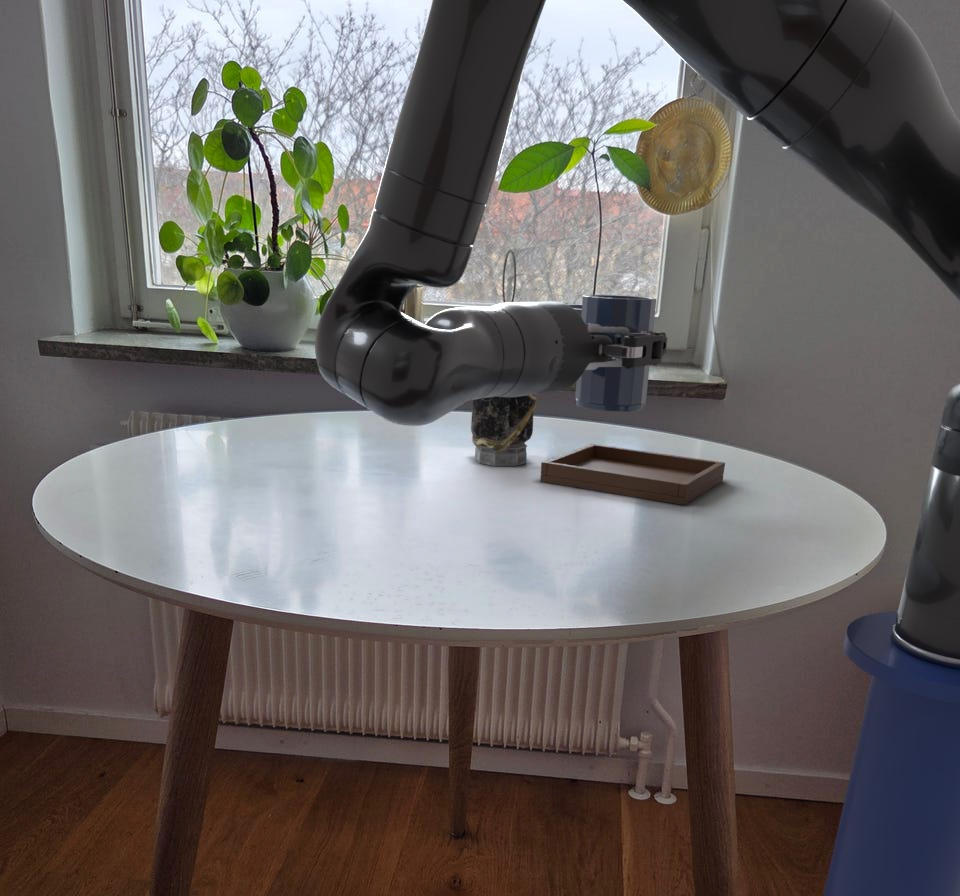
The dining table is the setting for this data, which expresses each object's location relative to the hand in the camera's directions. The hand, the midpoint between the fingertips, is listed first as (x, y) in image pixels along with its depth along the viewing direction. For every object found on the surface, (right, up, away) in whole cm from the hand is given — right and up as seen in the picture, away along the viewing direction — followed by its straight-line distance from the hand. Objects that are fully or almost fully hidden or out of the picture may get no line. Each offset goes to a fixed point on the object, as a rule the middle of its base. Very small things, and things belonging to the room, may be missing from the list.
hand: (627, 340), depth 90 cm
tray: (+4, -10, +22) cm, 24 cm away
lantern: (-11, -6, +30) cm, 32 cm away
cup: (-2, -6, +1) cm, 6 cm away
